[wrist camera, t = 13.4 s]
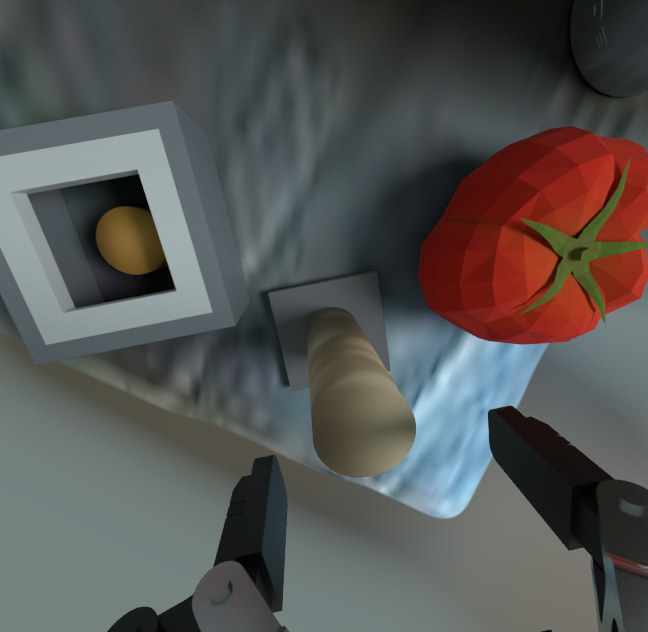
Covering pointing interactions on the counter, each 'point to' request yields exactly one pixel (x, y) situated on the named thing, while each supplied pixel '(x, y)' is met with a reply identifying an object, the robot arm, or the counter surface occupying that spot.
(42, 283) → the box
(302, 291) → the mat
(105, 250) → the orange dome
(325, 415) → the beige ridged cylinder
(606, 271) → the tomato
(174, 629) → the robot arm
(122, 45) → the counter surface
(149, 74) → the counter surface
